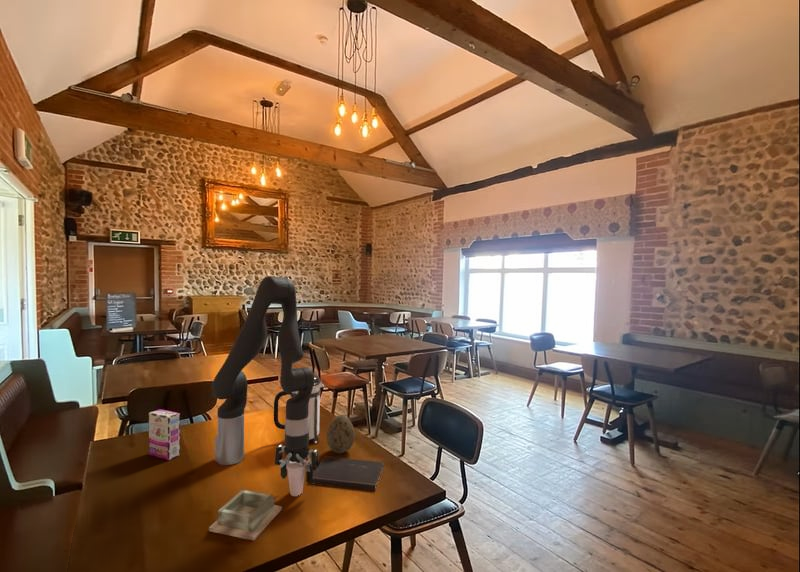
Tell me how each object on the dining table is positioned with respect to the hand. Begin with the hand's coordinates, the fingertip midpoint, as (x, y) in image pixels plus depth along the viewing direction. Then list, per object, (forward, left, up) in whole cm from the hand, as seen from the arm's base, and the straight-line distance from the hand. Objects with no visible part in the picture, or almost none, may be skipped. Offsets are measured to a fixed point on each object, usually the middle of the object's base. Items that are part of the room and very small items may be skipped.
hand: (296, 479), depth 127 cm
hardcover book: (+12, +15, -5) cm, 20 cm away
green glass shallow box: (-7, -16, -4) cm, 18 cm away
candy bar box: (-60, +9, -5) cm, 61 cm away
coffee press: (-17, +36, -5) cm, 40 cm away
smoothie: (0, 0, -5) cm, 5 cm away
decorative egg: (+3, +30, -5) cm, 31 cm away
